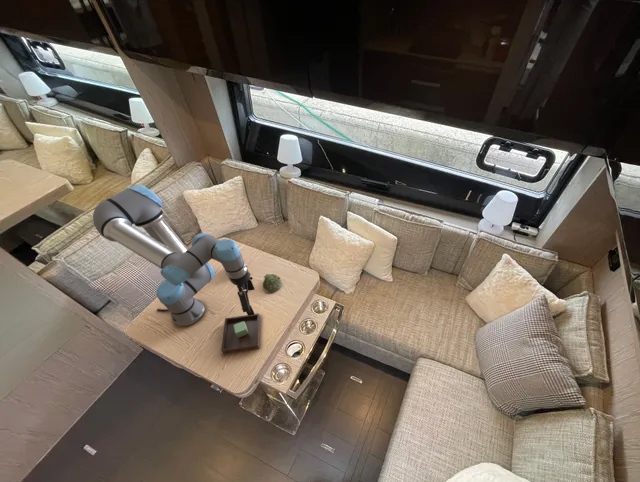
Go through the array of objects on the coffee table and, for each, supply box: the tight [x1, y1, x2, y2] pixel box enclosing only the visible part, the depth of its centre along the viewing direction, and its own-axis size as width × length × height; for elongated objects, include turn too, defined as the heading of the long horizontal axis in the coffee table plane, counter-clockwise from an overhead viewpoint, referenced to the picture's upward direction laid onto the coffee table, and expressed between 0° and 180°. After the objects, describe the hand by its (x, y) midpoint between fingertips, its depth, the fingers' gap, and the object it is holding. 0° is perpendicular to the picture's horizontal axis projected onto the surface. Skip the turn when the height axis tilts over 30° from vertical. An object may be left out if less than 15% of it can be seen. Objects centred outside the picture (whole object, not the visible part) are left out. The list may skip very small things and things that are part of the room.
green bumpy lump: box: [262, 273, 282, 294], centre depth 156 cm, size 10×7×10 cm
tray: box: [220, 313, 261, 355], centre depth 136 cm, size 17×18×3 cm
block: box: [234, 321, 249, 338], centre depth 135 cm, size 5×5×5 cm
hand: (251, 301), depth 125 cm, fingers open, 13 cm apart
